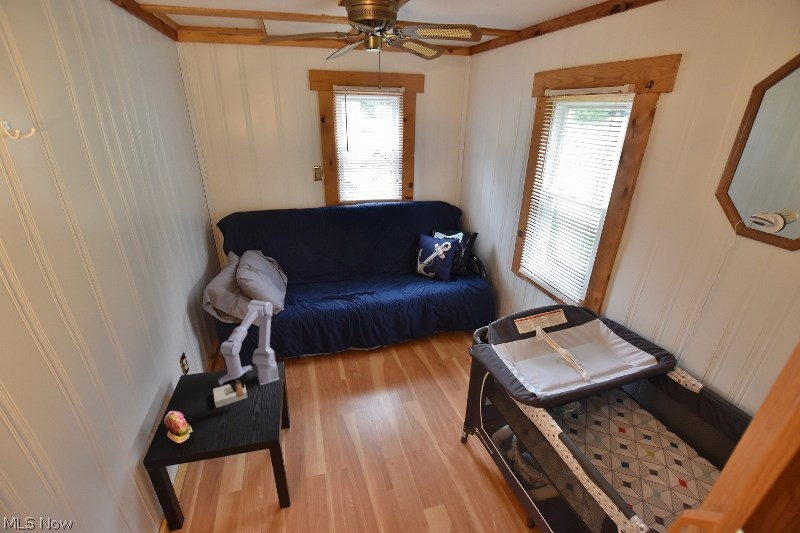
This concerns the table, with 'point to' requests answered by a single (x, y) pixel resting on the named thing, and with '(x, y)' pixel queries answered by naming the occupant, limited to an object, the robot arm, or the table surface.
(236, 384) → the peg
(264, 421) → the table surface
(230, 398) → the socket plate
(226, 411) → the table surface
